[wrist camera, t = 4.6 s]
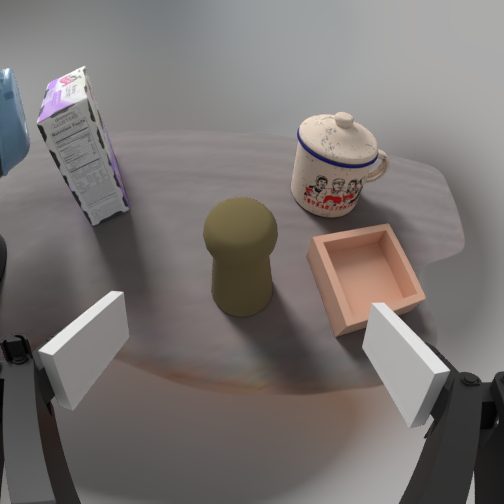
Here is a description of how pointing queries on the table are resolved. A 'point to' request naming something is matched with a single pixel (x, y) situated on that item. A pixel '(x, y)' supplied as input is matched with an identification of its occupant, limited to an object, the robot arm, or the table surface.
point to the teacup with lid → (334, 164)
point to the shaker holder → (362, 275)
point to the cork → (241, 255)
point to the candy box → (82, 146)
